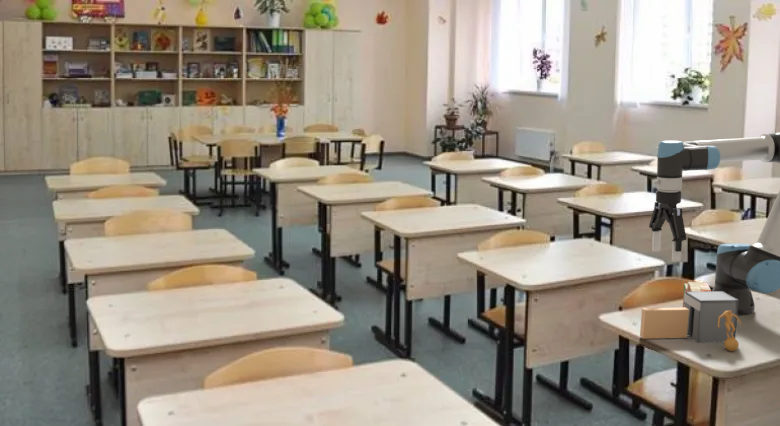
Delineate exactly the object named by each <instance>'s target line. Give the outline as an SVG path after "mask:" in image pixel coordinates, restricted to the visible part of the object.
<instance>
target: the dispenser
mask: <svg viewBox="0 0 780 426" xmlns="http://www.w3.org/2000/svg"><path fill="white" fill-rule="evenodd" d="M684 302H685V307H686V308H687V309H689V316H688V328H687V337H690V336H691V334H692V336H691V339H692V340H693V341H695V342H696V343H697V344H698V343H699V344H700V343H703V344H704V343H724V342H725V340H726V339H728V336H727V332H726V331H727V328H726V326H725V322H726V320H725V317H724V316H723V317H722V318H720V323H719V325H720V327H719V328H718V317H719V316H721V315H722V314H723V313H724V312H725V311H729V310H731V311H732V313H733V314H735V315H736V316H737V317H738V316H739V315H738V304H739V300H738V299H736V298H734V297H732V296H730V295H729V294H727V293H725V292H723V291H712V290H711V291H698V292H686V294H685V297H684ZM731 322H733V325H734V327H735V331H734V332H733V333H732V334H733V337H734V338H735V339H736V335H737V324H738V323H737V322H738V320H737V318H736V317H734V316H732V319H731ZM731 330H733V329H732V328H731V327H730V331H729V333H728V334H729V337H730V338H732V336H731ZM691 332H693V333H691Z"/></svg>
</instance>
